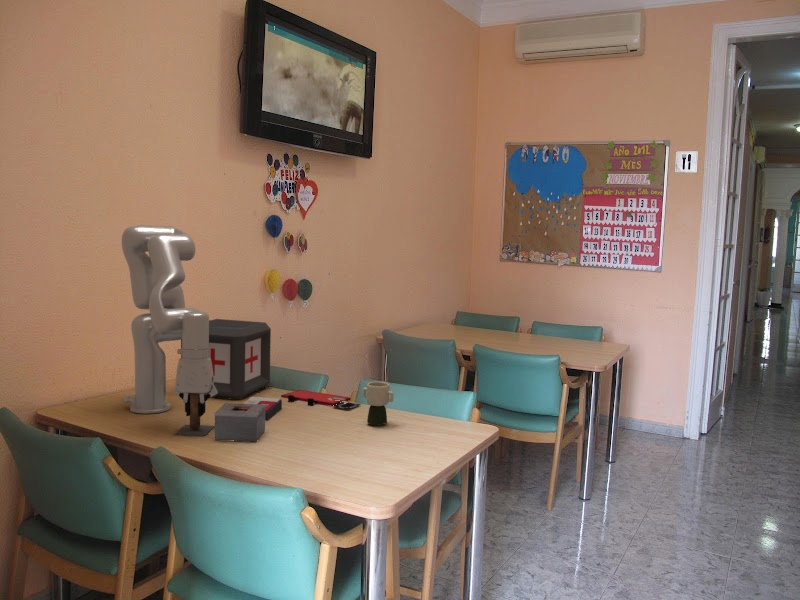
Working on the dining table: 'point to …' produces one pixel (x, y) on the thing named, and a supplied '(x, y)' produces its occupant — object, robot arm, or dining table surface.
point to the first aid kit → (239, 356)
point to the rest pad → (194, 430)
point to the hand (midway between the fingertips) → (195, 414)
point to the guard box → (240, 422)
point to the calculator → (267, 405)
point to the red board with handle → (319, 399)
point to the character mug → (377, 401)
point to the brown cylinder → (194, 410)
